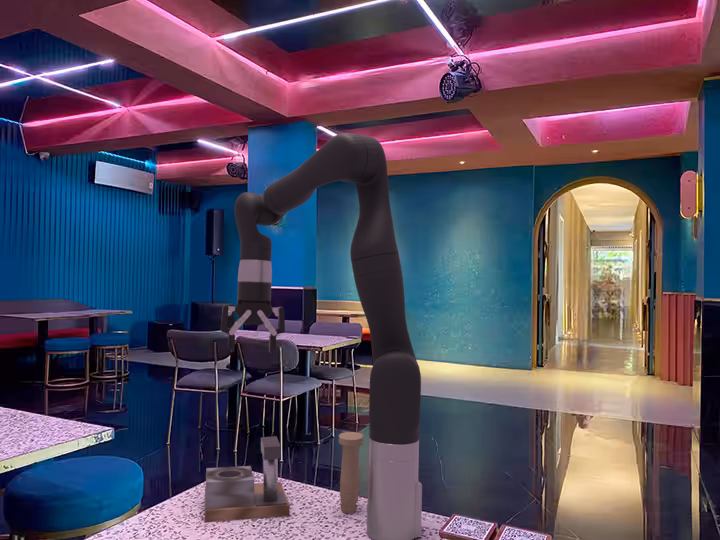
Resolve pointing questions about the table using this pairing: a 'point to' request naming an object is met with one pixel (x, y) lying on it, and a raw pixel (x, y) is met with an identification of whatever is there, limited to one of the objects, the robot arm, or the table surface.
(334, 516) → the table surface
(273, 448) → the hammer
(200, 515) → the table surface
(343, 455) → the handle
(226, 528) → the table surface
